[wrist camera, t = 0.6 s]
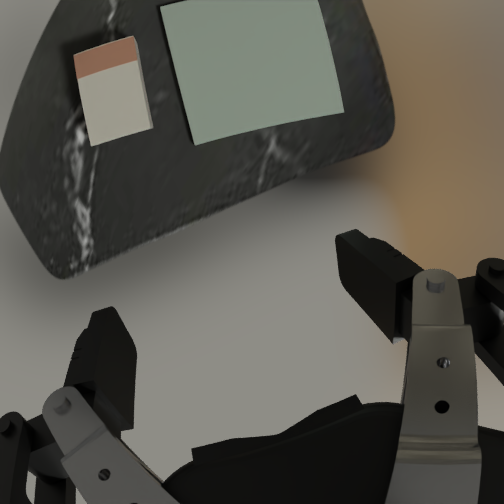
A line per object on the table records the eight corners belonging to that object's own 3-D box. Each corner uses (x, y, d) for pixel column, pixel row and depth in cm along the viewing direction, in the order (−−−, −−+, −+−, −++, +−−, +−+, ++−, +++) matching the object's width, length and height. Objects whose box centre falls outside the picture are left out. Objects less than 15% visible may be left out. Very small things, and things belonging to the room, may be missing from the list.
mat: (160, 8, 24) (160, 6, 23) (311, -12, 26) (313, -14, 25) (194, 144, 30) (195, 145, 30) (341, 112, 32) (344, 112, 31)
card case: (100, 143, 28) (91, 146, 25) (83, 61, 24) (73, 54, 21) (153, 127, 29) (150, 128, 26) (137, 44, 25) (133, 35, 22)
